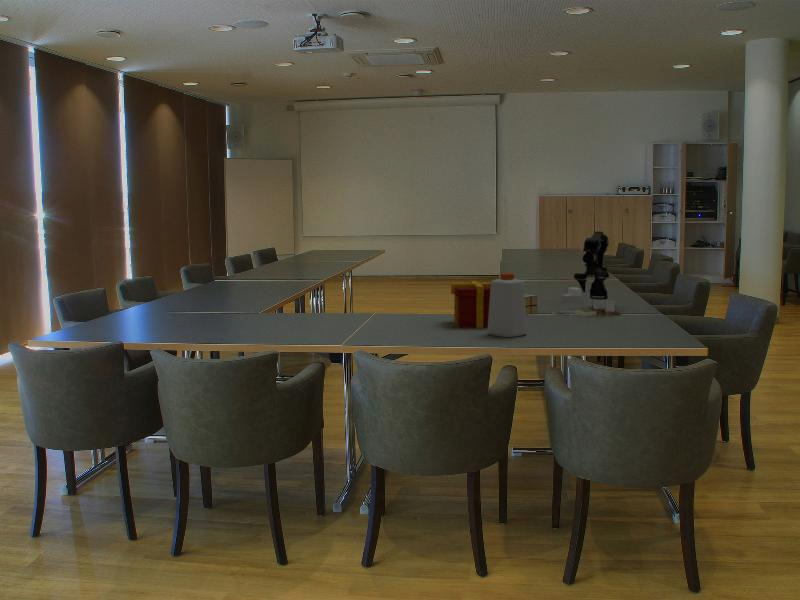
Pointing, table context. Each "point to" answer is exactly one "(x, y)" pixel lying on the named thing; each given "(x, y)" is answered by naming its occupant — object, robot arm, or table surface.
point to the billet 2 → (609, 306)
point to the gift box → (471, 304)
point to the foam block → (572, 295)
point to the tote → (561, 314)
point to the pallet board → (603, 313)
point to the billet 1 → (599, 304)
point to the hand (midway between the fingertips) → (591, 291)
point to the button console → (585, 313)
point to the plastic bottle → (507, 307)
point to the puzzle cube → (530, 304)
